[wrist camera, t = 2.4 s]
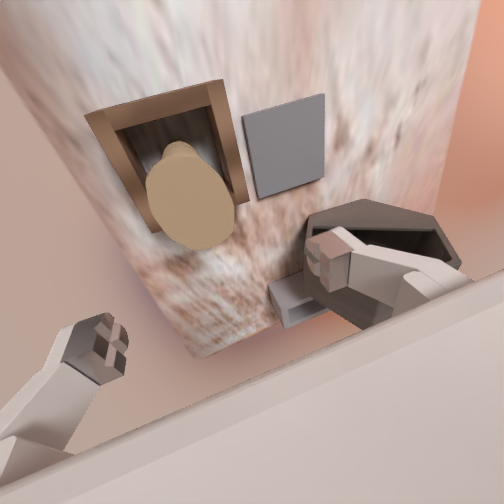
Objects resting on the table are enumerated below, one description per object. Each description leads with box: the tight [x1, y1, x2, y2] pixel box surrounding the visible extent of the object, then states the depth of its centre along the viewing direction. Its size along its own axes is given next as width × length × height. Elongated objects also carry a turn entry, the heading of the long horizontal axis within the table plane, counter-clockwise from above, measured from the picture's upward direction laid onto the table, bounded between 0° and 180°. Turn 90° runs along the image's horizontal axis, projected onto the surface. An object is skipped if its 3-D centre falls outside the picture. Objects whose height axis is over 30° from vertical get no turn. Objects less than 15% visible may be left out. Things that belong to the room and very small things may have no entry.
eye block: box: [84, 79, 250, 234], centre depth 24 cm, size 12×12×5 cm
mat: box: [242, 94, 325, 199], centre depth 29 cm, size 10×10×1 cm
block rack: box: [268, 271, 330, 329], centre depth 45 cm, size 7×29×6 cm, turn 102°
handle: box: [145, 140, 234, 251], centre depth 20 cm, size 5×6×15 cm
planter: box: [303, 199, 462, 330], centre depth 33 cm, size 17×8×21 cm
